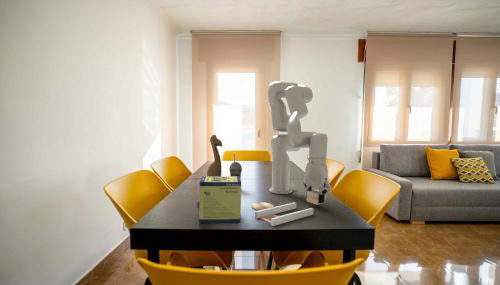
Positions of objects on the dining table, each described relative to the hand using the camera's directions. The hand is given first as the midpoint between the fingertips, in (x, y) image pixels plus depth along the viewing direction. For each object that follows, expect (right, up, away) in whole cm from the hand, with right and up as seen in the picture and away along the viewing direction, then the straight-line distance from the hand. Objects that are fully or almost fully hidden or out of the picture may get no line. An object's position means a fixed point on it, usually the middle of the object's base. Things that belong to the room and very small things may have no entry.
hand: (315, 200), depth 116 cm
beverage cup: (-38, -1, +31) cm, 49 cm away
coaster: (-24, -3, -1) cm, 24 cm away
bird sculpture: (-46, -2, +2) cm, 46 cm away
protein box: (-41, -4, -16) cm, 44 cm away
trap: (-21, -4, -16) cm, 26 cm away
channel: (-15, -3, -12) cm, 20 cm away
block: (+1, -1, +1) cm, 1 cm away
